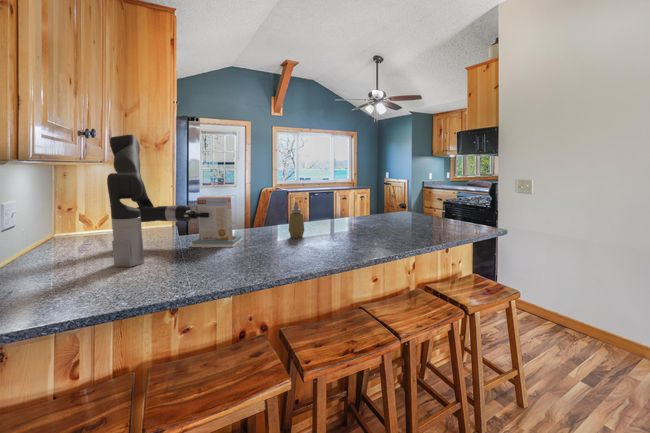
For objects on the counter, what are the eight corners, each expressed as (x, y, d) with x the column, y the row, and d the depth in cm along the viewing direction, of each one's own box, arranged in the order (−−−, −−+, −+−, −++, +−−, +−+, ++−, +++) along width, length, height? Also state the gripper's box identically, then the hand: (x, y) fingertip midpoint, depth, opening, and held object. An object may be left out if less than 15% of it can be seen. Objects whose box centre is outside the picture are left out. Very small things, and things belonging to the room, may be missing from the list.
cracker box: (233, 240, 159) (231, 196, 156) (228, 243, 153) (226, 197, 150) (204, 239, 161) (202, 196, 158) (199, 242, 155) (196, 197, 152)
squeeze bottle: (303, 238, 167) (303, 202, 164) (287, 238, 167) (287, 202, 165) (305, 235, 175) (304, 201, 172) (289, 235, 175) (289, 201, 173)
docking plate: (233, 247, 150) (233, 241, 149) (189, 246, 151) (189, 241, 150) (242, 240, 164) (242, 235, 163) (202, 240, 165) (202, 235, 164)
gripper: (169, 207, 149) (205, 207, 148) (184, 203, 163) (217, 204, 162) (171, 224, 150) (206, 224, 149) (185, 219, 164) (218, 219, 163)
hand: (212, 213), depth 155 cm, fingers open, 8 cm apart
